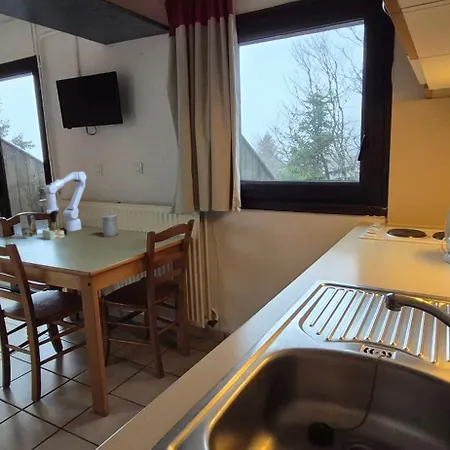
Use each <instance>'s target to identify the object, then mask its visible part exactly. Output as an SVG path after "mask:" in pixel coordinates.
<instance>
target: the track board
mask: <svg viewBox="0 0 450 450" xmlns="http://www.w3.org/2000/svg"><path fill="white" fill-rule="evenodd" d="M41 231H42V238H44V239H46V240H50V241H53V240H54V236H53V231H52V230H49V229H47V228H46V229H42V230H41Z"/></svg>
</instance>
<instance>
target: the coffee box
mask: <svg viewBox="0 0 450 450" xmlns="http://www.w3.org/2000/svg"><path fill="white" fill-rule="evenodd" d="M19 221H20V228H21V238H22V239H23V240H24V239H26V240H27V239H28V238H32V237H34V236H37V235H38V229H37V223H36V214H35V212H30V213H29V212H28V213H24V214H21V215H19ZM28 240H29V239H28Z"/></svg>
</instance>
